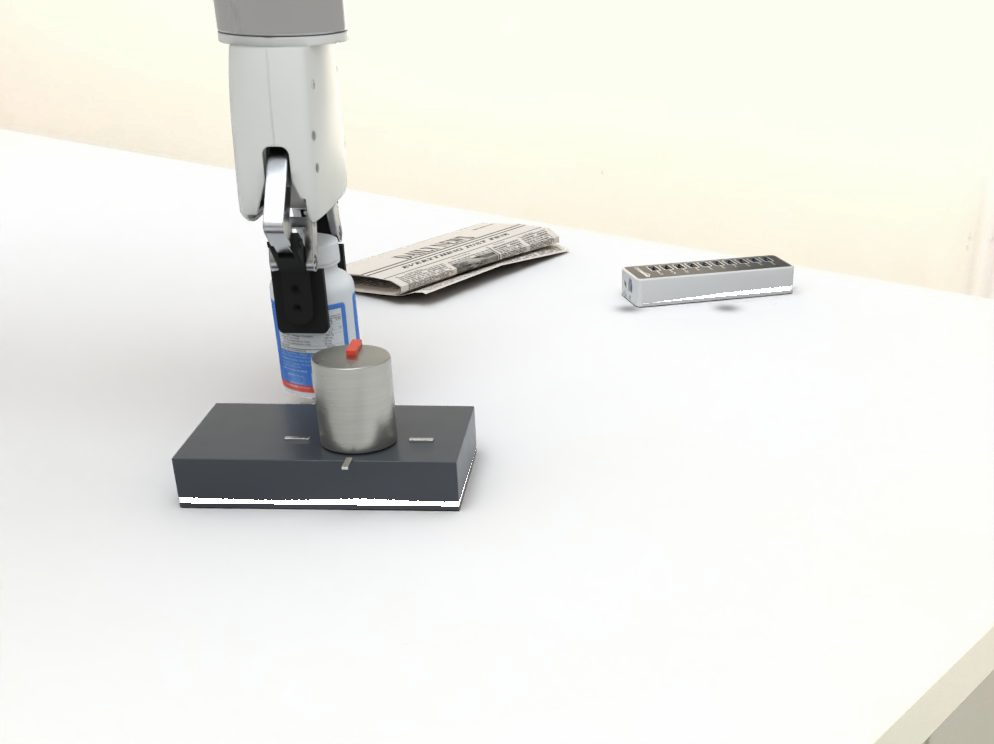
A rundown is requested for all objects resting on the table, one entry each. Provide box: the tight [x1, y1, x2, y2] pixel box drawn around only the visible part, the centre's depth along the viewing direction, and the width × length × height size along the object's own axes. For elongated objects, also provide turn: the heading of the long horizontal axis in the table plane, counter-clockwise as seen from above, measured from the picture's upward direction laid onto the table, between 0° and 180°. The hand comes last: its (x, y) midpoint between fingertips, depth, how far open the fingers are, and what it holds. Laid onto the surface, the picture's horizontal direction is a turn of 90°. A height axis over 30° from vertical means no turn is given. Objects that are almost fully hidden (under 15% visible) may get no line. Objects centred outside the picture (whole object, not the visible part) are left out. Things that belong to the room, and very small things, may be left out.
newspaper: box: [346, 222, 570, 297], centre depth 121 cm, size 23×12×2 cm, turn 146°
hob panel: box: [171, 402, 478, 511], centre depth 79 cm, size 16×10×3 cm, turn 90°
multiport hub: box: [621, 254, 795, 308], centre depth 115 cm, size 4×14×2 cm, turn 110°
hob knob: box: [311, 338, 398, 454], centre depth 76 cm, size 4×4×5 cm
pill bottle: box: [269, 233, 361, 399], centre depth 87 cm, size 6×5×10 cm
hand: (314, 314), depth 87 cm, fingers closed on pill bottle, 5 cm apart
